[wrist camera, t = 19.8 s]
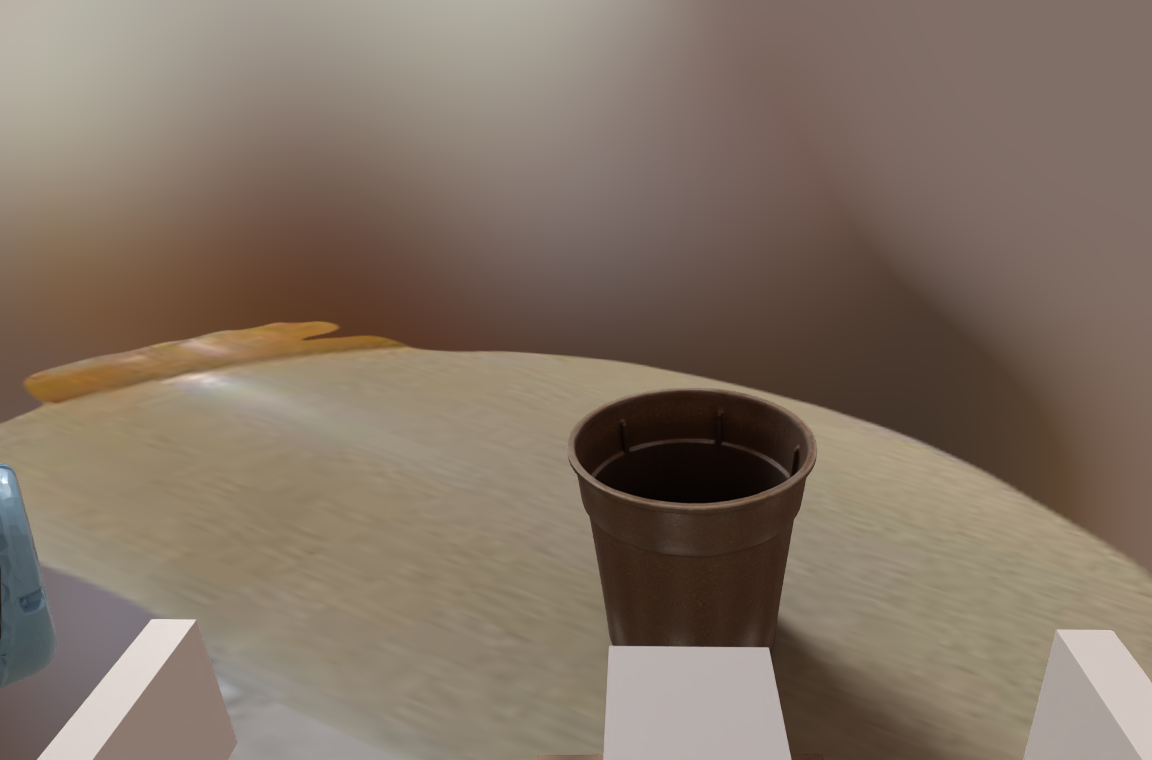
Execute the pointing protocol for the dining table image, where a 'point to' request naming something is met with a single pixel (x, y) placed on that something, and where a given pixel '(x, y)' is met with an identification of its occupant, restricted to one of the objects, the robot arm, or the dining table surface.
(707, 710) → the white lidded box
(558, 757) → the block
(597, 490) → the plant pot
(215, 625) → the dining table surface
